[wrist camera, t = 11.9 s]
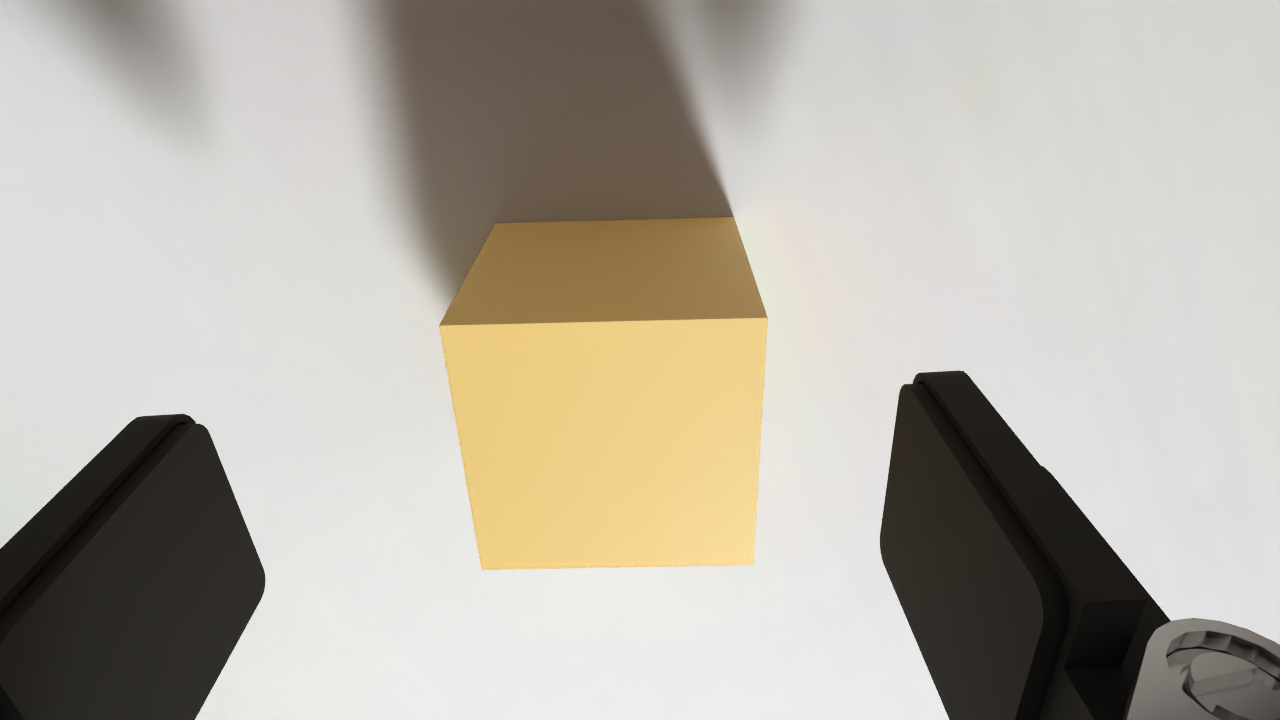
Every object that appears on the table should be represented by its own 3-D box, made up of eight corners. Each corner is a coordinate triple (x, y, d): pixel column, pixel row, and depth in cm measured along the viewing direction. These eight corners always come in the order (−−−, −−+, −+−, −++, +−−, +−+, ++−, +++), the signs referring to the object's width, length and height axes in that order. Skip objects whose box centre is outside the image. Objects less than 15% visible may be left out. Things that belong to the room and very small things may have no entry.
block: (733, 215, 14) (767, 317, 10) (727, 416, 16) (753, 565, 12) (496, 222, 14) (439, 325, 10) (520, 420, 16) (482, 569, 12)
